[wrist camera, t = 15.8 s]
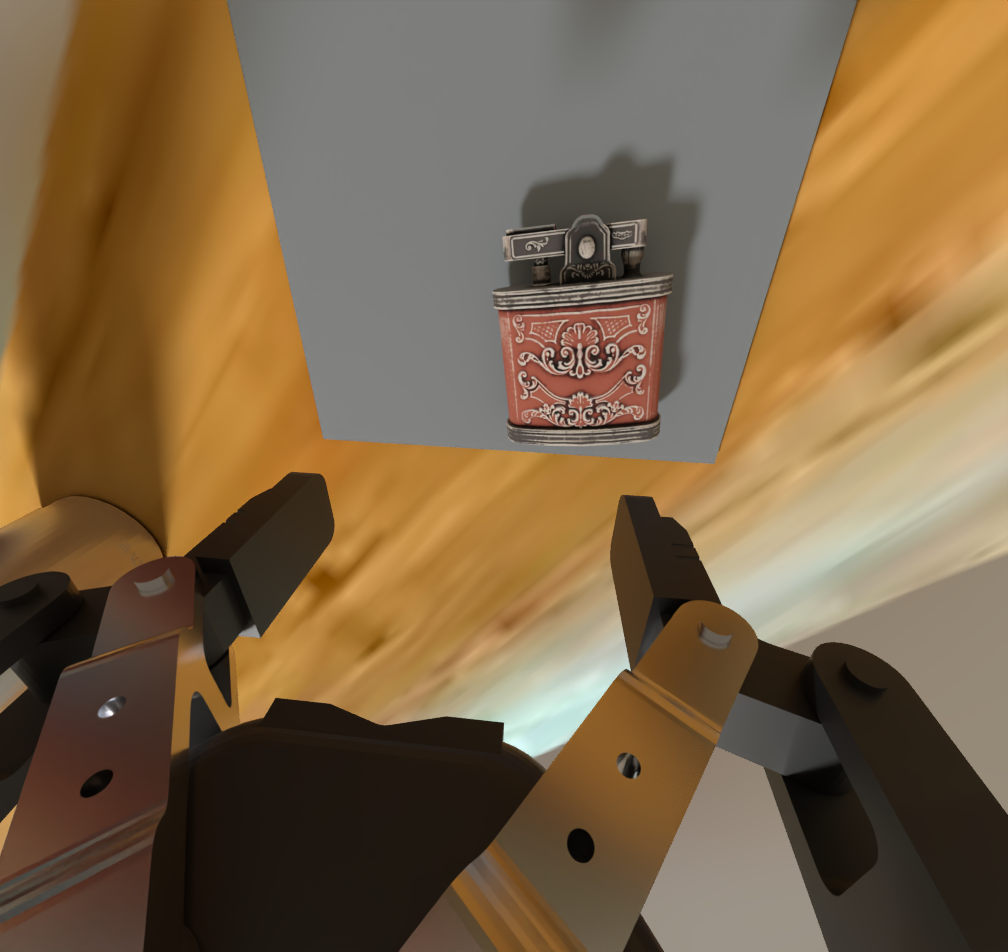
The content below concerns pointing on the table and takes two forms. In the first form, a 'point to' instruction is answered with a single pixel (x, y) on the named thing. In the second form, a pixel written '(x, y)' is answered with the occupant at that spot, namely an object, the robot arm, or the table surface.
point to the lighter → (583, 336)
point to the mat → (526, 186)
